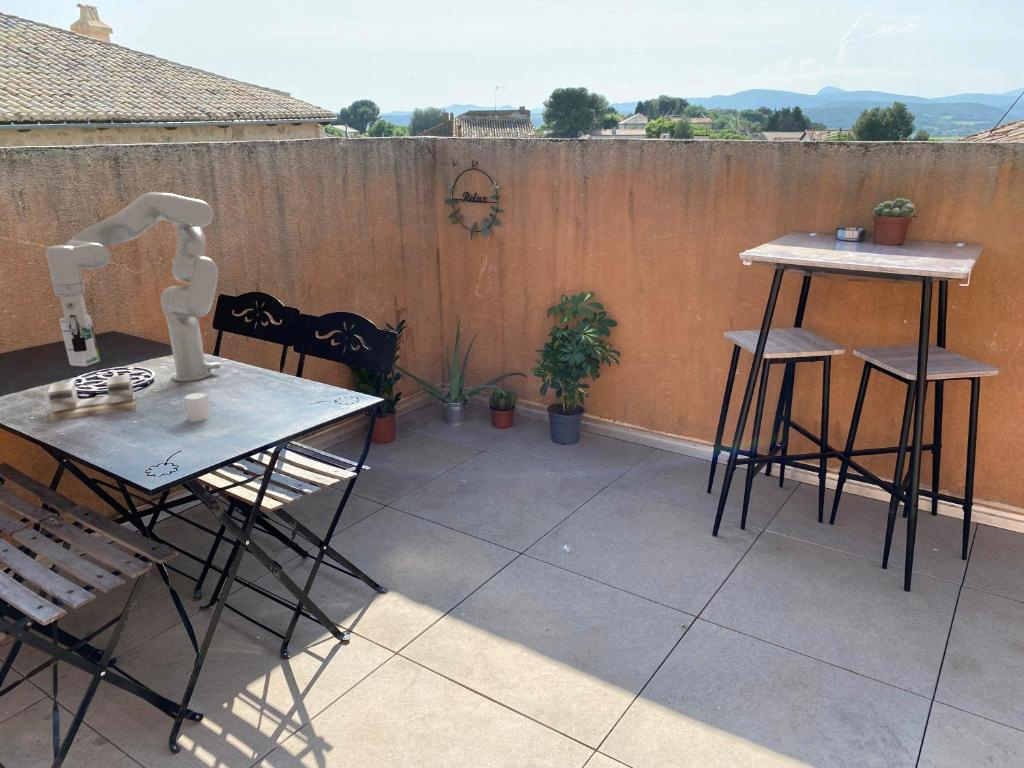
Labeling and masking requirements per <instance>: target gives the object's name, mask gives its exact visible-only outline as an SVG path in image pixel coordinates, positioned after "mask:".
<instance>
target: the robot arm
mask: <svg viewBox="0 0 1024 768" xmlns="http://www.w3.org/2000/svg"><path fill="white" fill-rule="evenodd" d="M213 219H214V212H213V209H212V207H211V205H210V204H209V203H207V201H204V200H202V199H196V198H191V197H186V196H181V195H178V194H174V193H169V192H145V193H143V194H142V195H140V196H138V197H137V198H135V200H133V201H132V202H131V203H130V204H128V205H127V206H125V207H124V208H123V209H121V210H120V211H119V212H117V213H116V214H114V215H112V216H111V217H108V218H106V219H104V220H102V221H100V222H98V223H95V224H93V225H90V226H89V227H87V228H85V229H84V230H82V231H80V232H78V234H76V235H75V236H73V237H72V238H71V239H70V240H69V241H67V242H66V244H60V245H59V244H58V245H51V246H48V247H46V249H45V256H46V260H47V261H46V262H47V265H48V269H49V273H50V279H51V283H52V288H53V291H54V295H55V296H56V297H59V298H60V303H61V308H62V312H63V316H64V317H65V321H66V325H67V328H68V329H69V330H71V337H72V344H73V348H74V352H81V351H86V350H87V347H86V342H85V338H84V337H83V332H82V327H84V328H87V327H88V322H87V317H86V315H88V312H87V308H86V303H85V299H84V296H83V295H84V294H86V289H85V284H84V279H83V275H82V270H83V269H90V270H91V269H93V270H95V269H100V268H104V267H105V266H107V265H108V264H109V263H110V262H111V252H110V250H109V249H108V247H111V246H112V245H117V244H121V243H127V242H130V241H132V240H136V239H137V238H139V236H141V235H142V234H143V233H145V232H146V231H147V230H148V229H150V228H151V227H152V226H154V225H155V224H156V223H158V222H159V221H165V222H166V221H167V222H168V221H169V222H171V223H172V225H173V226H174V228H175V230H176V234H177V246H176V250H175V255H174V257H173V258H174V259H173V263H172V267H171V274H172V276H173V278H174V279H175V280H176V281H178V282H180V283H184V284H189V285H188V286H182V285H173V286H172V285H171V286H168V287H166V288H165V289H164V290H163V291H162V293H161V295H160V306H161V307H162V311H163V314H164V316H165V319H166V322H167V327H168V333H169V339H170V343H171V344H170V345H171V350H172V356H173V361H174V367H175V371H174V373H172V374H171V378H172V380H174V381H176V382H194V381H199V380H203V379H206V378H208V377H210V376H211V375H212V370H213V369H214V370H218V369H221V364H220V362H218V363H217V362H207V360H206V359H205V353H204V349H203V348H204V346H203V341H202V334H201V327H200V323H199V320H198V319H197V318H202V317H204V316H206V315H207V314H208V313H209V312H210V310H211V309H212V306H213V302H214V299H215V294H216V289H217V285H218V280H219V269H218V266H217V264H216V262H215V261H214V260H213V259H211V258H210V257H207V256H205V251H206V242H207V241H206V236H205V233H204V231H203V227H204V228H205V227H207V226H209V225H210V224H211V223H212V222H213ZM64 317H63V318H64ZM76 319H77V322H78V324H79V325H80V327H77V323H76ZM69 325H70V327H69ZM79 330H80V331H79Z"/></svg>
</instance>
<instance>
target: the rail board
mask: <svg viewBox="0 0 1024 768" xmlns="http://www.w3.org/2000/svg"><path fill="white" fill-rule="evenodd" d="M76 387H77V386H76V383H75V381H69V382H68V381H67V382H60V383H53V384H50V386H49V388H48V391H47V396H48V400H49V404H50V408H51V409H50V415H49V418H50V422H52V420H54V421H60V420H67V419H73V418H81V417H87V416H95V415H99V414H108V413H113V412H114V413H115V412H121V411H129V410H135V409H136V408H137V391H134V389H133V385H132V378H131V374H124V375H123V374H122V375H116V376H115V375H114V376H109V377H107V381H106V389H107V393H108V394H107V395H104V396H97V397H90V398H83V399H79V397H78V392H77V389H76Z"/></svg>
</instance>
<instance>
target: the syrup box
mask: <svg viewBox="0 0 1024 768" xmlns="http://www.w3.org/2000/svg"><path fill="white" fill-rule="evenodd" d="M86 317H87V322H88V327H87V328H84V327H82V332H83V337H84V338H85V342H86V347H87V350H86V351H81V352H74V348H73V344H72V337H71V330H69V329H68V328H67V325H66V321H65V317H61V318H58V320H59V324H60V328H61V333H62V337H63V341H64V345H65V349H66V353H67V358H68V362H69V365H70V366H74V367H77V366H78V367H88V366H90V365H93V364H96V363H98V362H101V356H100V352H99V348H98V343H97V339H96V335H95V331H94V326H93V321H92V316H91V315H90V314H87V315H86ZM76 323H77V327H80V325H79V324H78V322H77V319H76ZM69 327H70V325H69ZM79 331H80V330H79Z"/></svg>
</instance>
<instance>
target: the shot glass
mask: <svg viewBox="0 0 1024 768" xmlns="http://www.w3.org/2000/svg"><path fill="white" fill-rule="evenodd" d="M182 399H183V400H182V401H183V403H184V407H185V411H186V414H187V418H188V420H189V422H190V421H191V422H202V421H206V420H208V419H209V418H210V417H211V414H210V397H209V393H208V392H204V391H196V392H192V393H188V394H185V395H184V396H183V397H182Z"/></svg>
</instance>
